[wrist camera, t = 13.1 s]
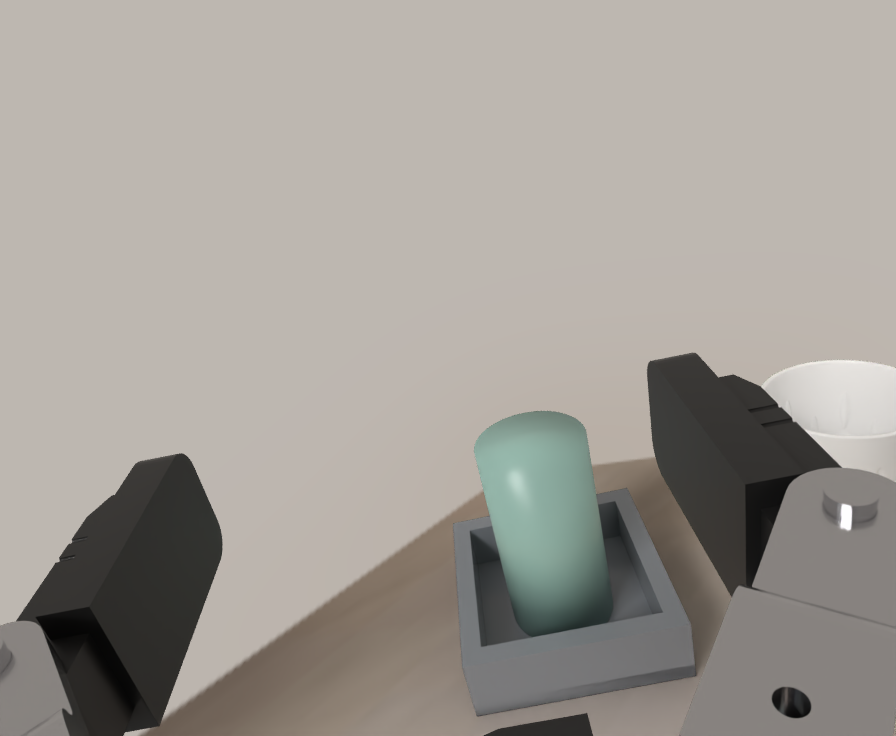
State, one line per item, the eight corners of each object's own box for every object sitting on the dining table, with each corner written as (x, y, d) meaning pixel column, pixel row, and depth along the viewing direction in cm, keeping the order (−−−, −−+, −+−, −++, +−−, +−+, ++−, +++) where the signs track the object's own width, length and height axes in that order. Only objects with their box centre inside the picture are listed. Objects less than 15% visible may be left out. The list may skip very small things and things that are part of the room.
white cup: (755, 503, 43) (751, 364, 39) (899, 503, 41) (911, 354, 36) (771, 595, 37) (767, 439, 32) (944, 603, 34) (964, 434, 30)
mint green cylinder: (520, 653, 36) (479, 484, 31) (507, 579, 41) (470, 424, 36) (625, 632, 36) (599, 459, 31) (599, 560, 41) (573, 402, 36)
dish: (476, 716, 34) (462, 667, 33) (464, 565, 44) (452, 523, 43) (695, 675, 33) (691, 624, 32) (633, 532, 43) (627, 488, 42)
